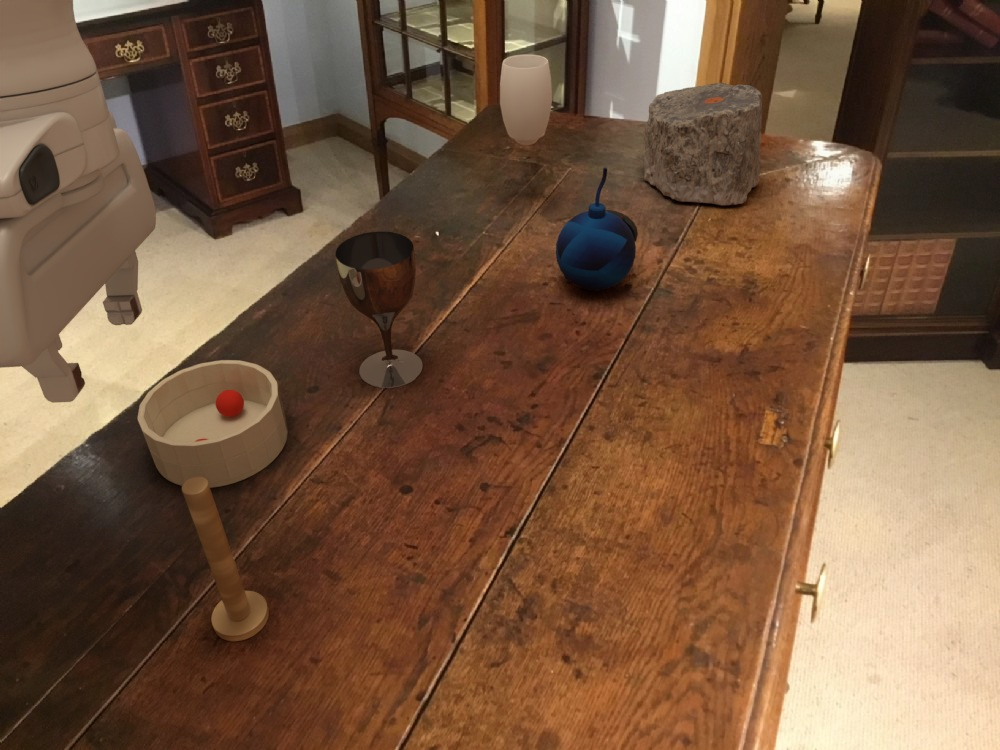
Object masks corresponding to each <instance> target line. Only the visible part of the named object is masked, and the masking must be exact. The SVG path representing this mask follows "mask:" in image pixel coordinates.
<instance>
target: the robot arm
mask: <svg viewBox="0 0 1000 750" xmlns="http://www.w3.org/2000/svg"><path fill="white" fill-rule="evenodd" d="M77 25H78V24H77V22H76V18H75V11H74V0H0V369H2V368H16V367H18V368H19V367H21V368H23V369H24V370H25V371H26V372H27V373H28V374H30V375H32V376H33V377H34V378H35V379H37V381H38V384H39V387H40V390H41V392H42V395H43V397H44V398H45V400H46V401H48V402H50V403H54V404H55V403H71V402H73V401H75V400H76V398H77V397H78V395H80V393H81V391H82V390H83V389H84V387H85V385H86V382H85V378H83V375H82V374H83V373H82V370H81V367H80V364H79V362H67V360H66V359H65V358H64V357H63V356H62V355H61V354H60V352H59V351H60V350H61V349H62V348H63V343H62V339H61V337H60V334H61V332H63V331H64V329H66V327H68V325H69V324H70V323H71V322H72V321H73V319H74V318H75V317H76V316H77V315H78V314H79V313H80V312H81V311H82V309H84V307H85V306H86V305H88V303H89V302H90V301H91V300H92V298H93V297H95V295H96V294H97V293H98V292H99V291H100V290H101V289H102V288H103V286H104V285H105V292H106V293H105V294H106V297H105V298H104V300H103V301H102V305H103V308H104V311H105V312H106V316H107V317H106V318H107V321H108V322H109V323H110V324H111V325H114V326H121V325H125V326H130V325H132V324H134V323H135V321H136V320H137V319H138V318H139V317H140V316H141V314H142V312H143V308H142V304H141V301H140V297H139V294H138V289H139V288H138V287H139V286H138V285H139V259H138V255H137V252H136V250H137V249H138V248H139V247H140V246H141V245H142V244H144V243H143V242H145V240H146V239H148V237H149V236H151V234H152V233H154V231H155V229H156V225H157V209H156V204H155V202H154V197H153V195H152V191H151V189H150V188H151V187H150V185H149V182H148V179H147V176H146V173H145V170H144V167H143V164H142V161H141V159H140V156H139V154H138V151H137V148H136V147H135V144H134V142H133V140H132V138H131V137H130V135H129V134H128V133H127V132H126V131H125V130H124V129H122V128H118V127H117V124H116V123H117V122H116V120H115V117H114V115H113V113H112V111H110V110H109V107H108V103H107V100H106V96H105V93H104V89H103V85H102V82H101V79H100V75H99V71H98V68H97V65H96V62H95V60H94V57H93V55H92V54H91V52H90V51H89V49H88V47H87V45H86V43H85V42H84V40H83V38H82V36H81V34H80V32H79V31H80V30H79V28H78V26H77Z"/></svg>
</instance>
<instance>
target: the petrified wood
mask: <svg viewBox="0 0 1000 750" xmlns="http://www.w3.org/2000/svg"><path fill="white" fill-rule="evenodd" d="M762 105H763V94H762V93H761V91H760V90H759V89H757V88H755V86H753V85H749V84H748V85H747V84H740V83H739V84H736V85H732V84H728V83H725V82H716V83H709V84H705V85H697V86H691V87H690V86H689V87H685V88H681V89H674V90H670V91H665V92H664V93H659V94H657V95H656V96H655V97H654V99H652V102H650V103H649V106H648V119H647V121H646V123H645V131H644V135H643V140H644V149H645V151H644V158H643V162H644V165H643V166H644V175H643V179H644V181H646V182H648V183H649V184H650V185H651V186H653V187H656V189H657V190H658V191H660V192H661V193H662V195H663V196H665V197H669V198H671V200H675V201H677V202H682V203H684V202H686V203H687V202H688V203H701V204H702V203H703V204H713V205H717V206H736V205H742V204H744V203H745V202H747V198H748V194H749V193H750V192H751V191H752V188H756V187H757V186H758V185H759V183H760V175H761V152H760V150H761V145H762V144H761V143H762V132H761V130H762V118H763V114H762V113H763V106H762Z"/></svg>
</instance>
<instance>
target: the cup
mask: <svg viewBox="0 0 1000 750" xmlns="http://www.w3.org/2000/svg"><path fill="white" fill-rule="evenodd" d="M500 71H501V72H500V80H499V105H500V111H501V116H502V121H503V124H504V127H505V130H506V133H507V135H508V137H510V138H511V139H513V140H515V142H516V143H517V144H518V145H522V146H530V145H533V144H536V143H537V141H538V140H539V139H541V138H543V137H544V136H545V135H546V131H547V127H548V124H549V121H550V116H551V111H552V103H553V92H552V91H553V89H552V76H551V70H550V63H549V60H548V58H546V57H545V56H542V55H538V54H527V53H526V54H517V55H516V54H515V55H511V56H507V57H506V58H504V59H503V61H502V63H501V70H500Z"/></svg>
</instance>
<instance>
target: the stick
mask: <svg viewBox="0 0 1000 750" xmlns="http://www.w3.org/2000/svg"><path fill="white" fill-rule="evenodd" d="M181 492H182V494H183V497H184V500H185V503H186V505H187V509H188V511H189V514H190V516H191V519H192V522H193V525H194V527H195V530H196V533H197V535H198V539H199V541H200V543H201V546H202V549H203V552H204V554H205V557H206V560H207V563H208V566H209V569H210V571H211V574H212V576H213V580H214V583H215V585H216V587H217V590H218V593H219V596H220V601H219V602H218V603H217V604H216V606H215V607H214V609H213V610H212V613H211V617H210V618H211V625H212V628H213V630H214V633H215V634H216V635H217V636H218V637H219V638H220V639H222V640H225V641H227V642H241V641H245V640H248V639H251V638H252V637H254V636H255V635H257V634H259V633H260V632H261V630H262V629H263V628H265V625H267V623H268V620H269V616H270V609H269V605H268V603H267V600H266V598H265V597H264V596H263V595H262V594H261V593H259V592H256V591H253V590H245V587H244V585H243V581H242V578H241V576H240V573H239V570H238V566H237V563H236V561H235V558H234V555H233V552H232V549H231V545H230V543H229V540H228V537H227V534H226V531H225V528H224V525H223V522H222V519H221V516H220V513H219V510H218V507H217V504H216V501H215V498H214V496H213V493H212V488H210V486H209V483H208V481H207V479H205V478H203V477H194V478H191V479H189V480H187V481H186V482H185V483H184V484H183V486H181Z"/></svg>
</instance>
